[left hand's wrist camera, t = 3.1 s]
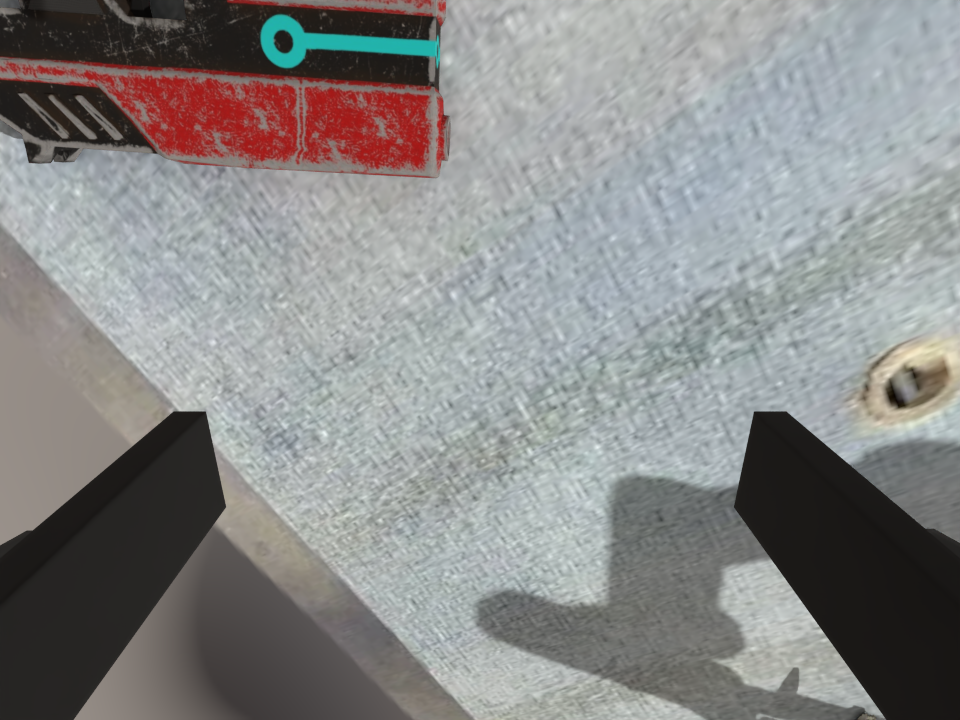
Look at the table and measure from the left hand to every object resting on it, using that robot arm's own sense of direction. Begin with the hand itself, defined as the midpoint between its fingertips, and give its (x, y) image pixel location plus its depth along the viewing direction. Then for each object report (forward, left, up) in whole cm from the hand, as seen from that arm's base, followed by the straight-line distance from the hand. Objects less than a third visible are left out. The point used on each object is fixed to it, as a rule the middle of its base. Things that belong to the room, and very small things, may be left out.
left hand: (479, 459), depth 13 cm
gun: (-9, -21, -31) cm, 38 cm away
